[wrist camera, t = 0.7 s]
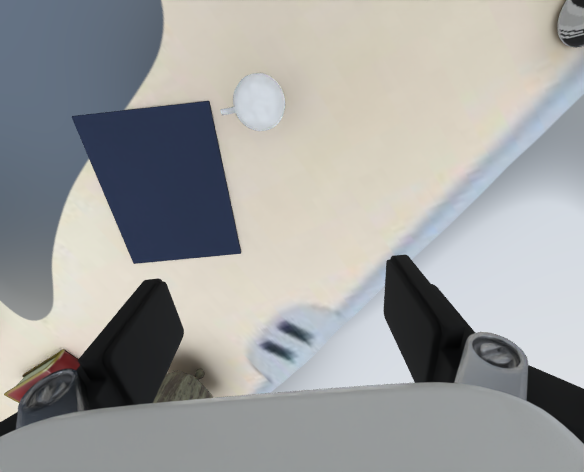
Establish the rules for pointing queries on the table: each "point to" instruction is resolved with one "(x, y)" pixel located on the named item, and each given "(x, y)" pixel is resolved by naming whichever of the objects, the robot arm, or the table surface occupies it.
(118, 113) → the mouse pad
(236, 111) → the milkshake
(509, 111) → the table surface
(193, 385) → the tabletop clock
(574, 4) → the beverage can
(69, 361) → the hardcover book
